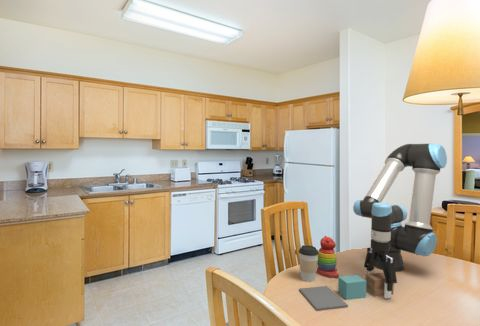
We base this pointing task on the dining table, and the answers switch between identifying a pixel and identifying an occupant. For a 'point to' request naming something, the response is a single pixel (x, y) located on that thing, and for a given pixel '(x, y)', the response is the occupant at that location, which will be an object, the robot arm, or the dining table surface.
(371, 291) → the walnut brick
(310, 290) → the mat
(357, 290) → the teal brick
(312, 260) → the coffee cup
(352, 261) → the dining table surface
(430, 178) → the robot arm
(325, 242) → the stacking bear
